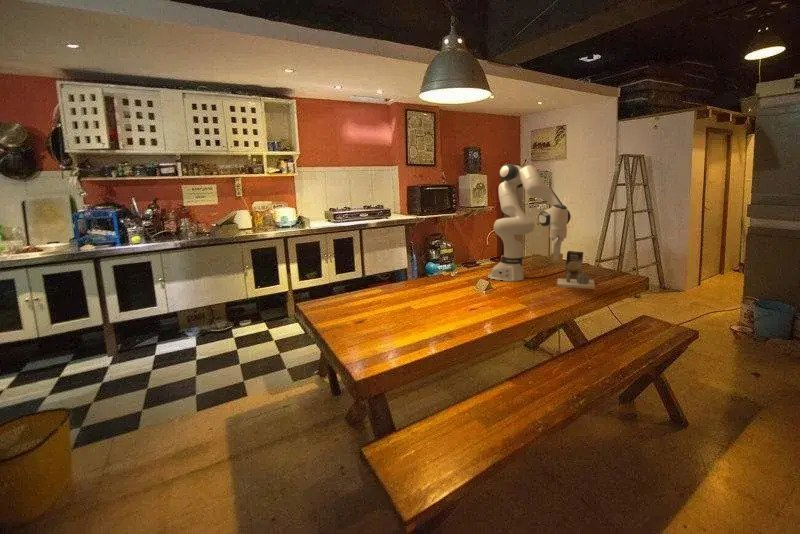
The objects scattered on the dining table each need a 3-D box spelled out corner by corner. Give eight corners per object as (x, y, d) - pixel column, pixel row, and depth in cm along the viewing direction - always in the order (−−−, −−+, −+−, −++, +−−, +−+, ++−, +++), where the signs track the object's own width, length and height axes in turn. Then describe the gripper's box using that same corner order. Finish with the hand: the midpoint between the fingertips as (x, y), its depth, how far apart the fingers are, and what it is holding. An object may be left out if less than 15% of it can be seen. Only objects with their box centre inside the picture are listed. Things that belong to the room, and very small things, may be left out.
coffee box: (564, 277, 251) (566, 252, 247) (566, 275, 256) (568, 250, 252) (580, 278, 246) (582, 253, 242) (581, 276, 251) (583, 251, 248)
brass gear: (548, 261, 224) (548, 253, 222) (553, 259, 228) (553, 251, 227) (559, 263, 219) (560, 255, 218) (564, 261, 223) (565, 253, 222)
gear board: (557, 286, 233) (557, 274, 231) (557, 280, 244) (558, 269, 243) (594, 288, 225) (595, 277, 223) (593, 282, 237) (594, 271, 235)
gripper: (563, 238, 209) (562, 263, 213) (564, 231, 227) (562, 254, 231) (551, 237, 212) (549, 262, 215) (552, 231, 230) (551, 254, 233)
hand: (556, 258), depth 223 cm, fingers closed on brass gear, 6 cm apart
